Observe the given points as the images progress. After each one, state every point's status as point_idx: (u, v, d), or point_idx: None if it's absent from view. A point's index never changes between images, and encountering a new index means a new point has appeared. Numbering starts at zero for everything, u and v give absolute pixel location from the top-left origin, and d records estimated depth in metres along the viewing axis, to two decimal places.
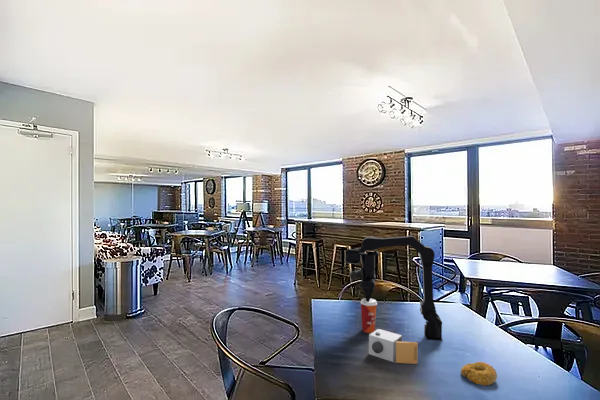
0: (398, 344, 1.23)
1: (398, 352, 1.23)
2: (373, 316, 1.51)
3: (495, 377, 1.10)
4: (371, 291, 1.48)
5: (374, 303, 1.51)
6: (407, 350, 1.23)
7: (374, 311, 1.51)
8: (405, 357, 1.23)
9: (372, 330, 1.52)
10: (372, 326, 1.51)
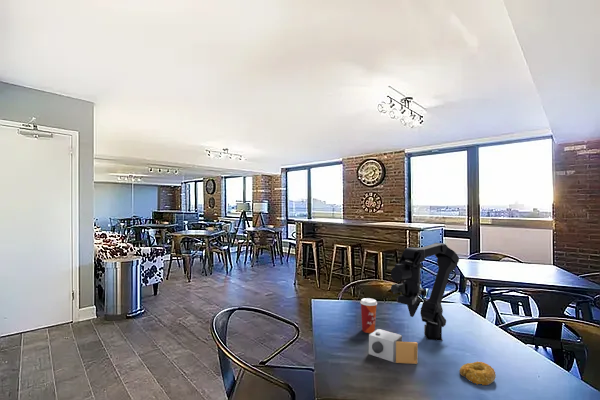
0: (398, 344, 1.23)
1: (398, 352, 1.23)
2: (373, 316, 1.51)
3: (494, 377, 1.10)
4: (414, 306, 1.36)
5: (374, 303, 1.51)
6: (407, 350, 1.23)
7: (374, 311, 1.51)
8: (405, 357, 1.23)
9: (372, 330, 1.52)
10: (372, 326, 1.51)
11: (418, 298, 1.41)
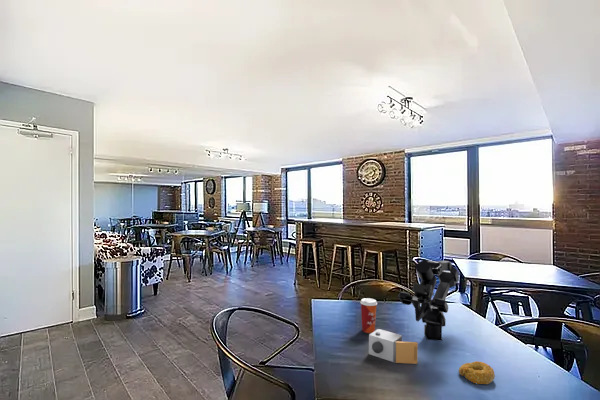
0: (398, 344, 1.23)
1: (398, 352, 1.23)
2: (373, 316, 1.51)
3: (493, 376, 1.10)
4: (426, 312, 1.34)
5: (374, 303, 1.51)
6: (407, 350, 1.23)
7: (374, 311, 1.51)
8: (405, 357, 1.23)
9: (372, 330, 1.52)
10: (372, 326, 1.51)
11: None
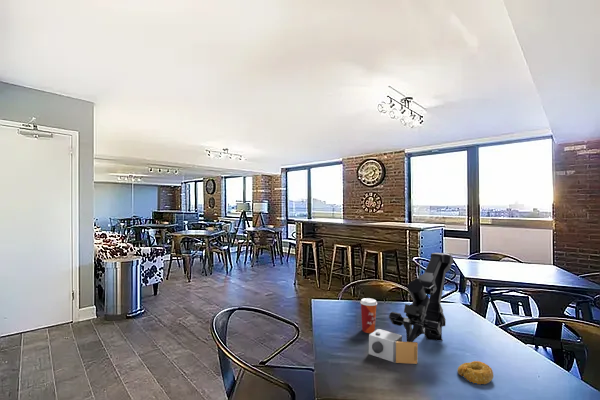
0: (398, 344, 1.23)
1: (398, 352, 1.23)
2: (373, 316, 1.51)
3: (491, 376, 1.10)
4: (418, 334, 1.27)
5: (374, 303, 1.51)
6: (407, 350, 1.23)
7: (374, 311, 1.51)
8: (405, 357, 1.23)
9: (372, 330, 1.52)
10: (372, 326, 1.51)
11: None
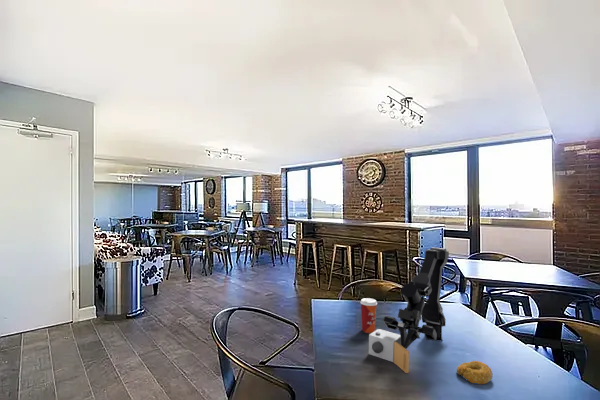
0: (395, 345, 1.23)
1: (395, 353, 1.23)
2: (373, 316, 1.51)
3: (490, 376, 1.10)
4: (413, 339, 1.23)
5: (374, 303, 1.51)
6: (400, 354, 1.20)
7: (374, 311, 1.51)
8: (399, 360, 1.20)
9: (372, 330, 1.52)
10: (372, 326, 1.51)
11: None
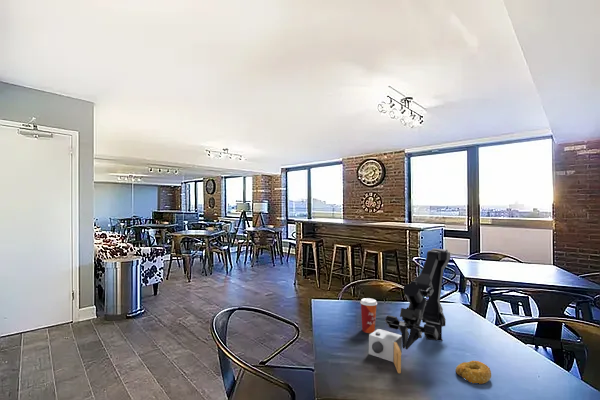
0: (394, 345, 1.23)
1: (394, 353, 1.23)
2: (373, 316, 1.51)
3: (489, 376, 1.11)
4: (415, 339, 1.24)
5: (374, 303, 1.51)
6: (396, 354, 1.20)
7: (374, 311, 1.51)
8: (395, 360, 1.20)
9: (372, 330, 1.52)
10: (372, 326, 1.51)
11: None
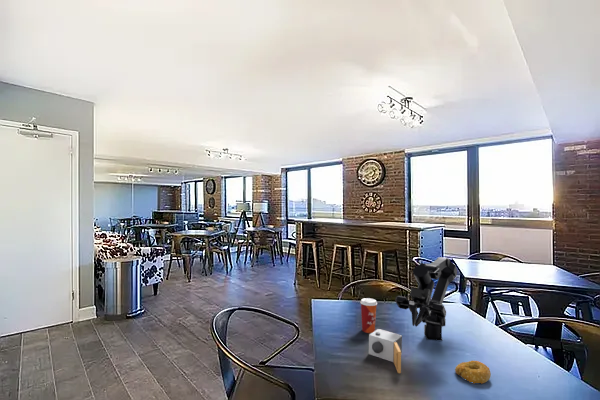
0: (394, 345, 1.23)
1: (394, 353, 1.23)
2: (373, 316, 1.51)
3: (489, 375, 1.11)
4: (424, 317, 1.32)
5: (374, 303, 1.51)
6: (396, 354, 1.20)
7: (374, 311, 1.51)
8: (395, 360, 1.20)
9: (372, 330, 1.52)
10: (372, 326, 1.51)
11: (411, 309, 1.36)
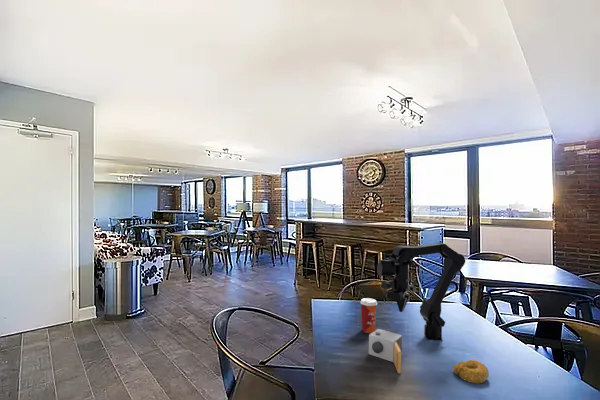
0: (394, 345, 1.23)
1: (394, 353, 1.23)
2: (373, 316, 1.51)
3: (487, 375, 1.11)
4: (403, 301, 1.42)
5: (374, 303, 1.51)
6: (396, 354, 1.20)
7: (374, 311, 1.51)
8: (395, 360, 1.20)
9: (372, 330, 1.52)
10: (372, 326, 1.51)
11: (407, 294, 1.47)
